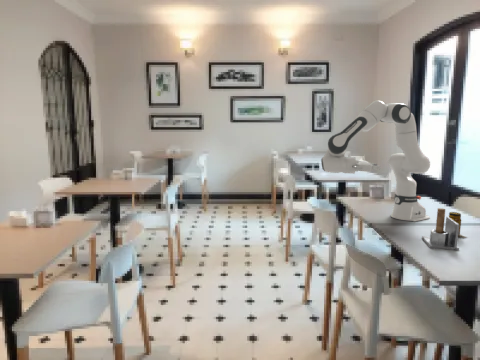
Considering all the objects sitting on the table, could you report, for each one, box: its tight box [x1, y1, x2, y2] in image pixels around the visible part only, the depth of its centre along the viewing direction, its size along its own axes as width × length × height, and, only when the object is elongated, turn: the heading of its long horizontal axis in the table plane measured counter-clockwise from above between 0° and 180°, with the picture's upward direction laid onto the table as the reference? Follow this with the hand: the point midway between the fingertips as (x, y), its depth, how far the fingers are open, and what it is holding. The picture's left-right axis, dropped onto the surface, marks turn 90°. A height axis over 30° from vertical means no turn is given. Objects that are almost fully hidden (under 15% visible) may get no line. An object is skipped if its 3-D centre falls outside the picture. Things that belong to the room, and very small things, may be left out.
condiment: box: [448, 211, 466, 239], centre depth 184 cm, size 7×8×12 cm
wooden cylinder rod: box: [435, 207, 446, 233], centre depth 170 cm, size 3×3×16 cm
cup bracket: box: [421, 216, 460, 251], centre depth 170 cm, size 12×14×12 cm
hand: (378, 166), depth 192 cm, fingers open, 8 cm apart
